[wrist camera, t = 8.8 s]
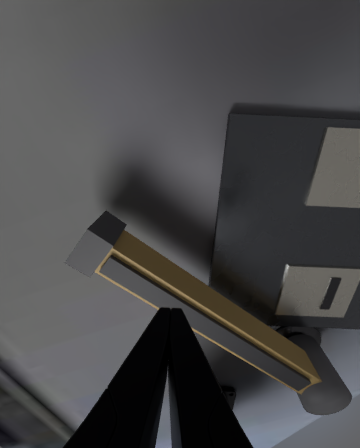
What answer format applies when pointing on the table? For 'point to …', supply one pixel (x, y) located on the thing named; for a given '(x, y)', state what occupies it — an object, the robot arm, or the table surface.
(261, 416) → the table surface
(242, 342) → the swing arm
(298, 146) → the panel
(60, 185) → the table surface
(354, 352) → the table surface
